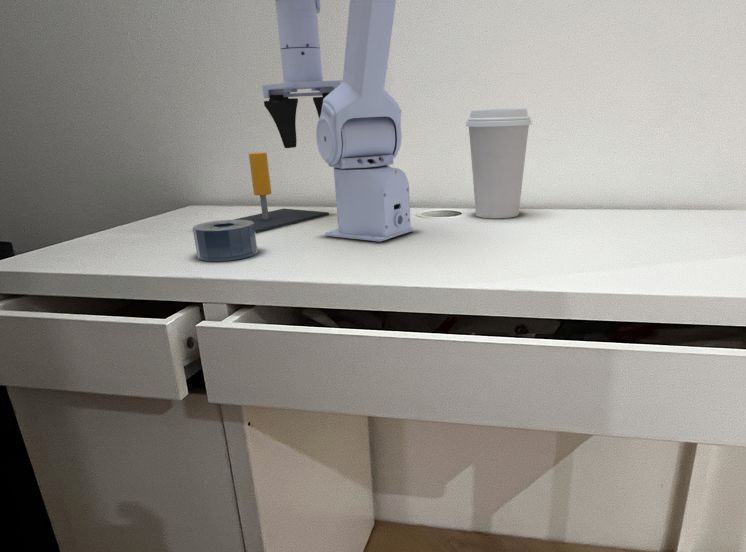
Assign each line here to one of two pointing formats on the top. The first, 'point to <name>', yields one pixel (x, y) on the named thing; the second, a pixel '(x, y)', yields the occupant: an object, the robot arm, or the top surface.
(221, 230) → the squat holed cylinder
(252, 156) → the screwdriver
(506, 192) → the coffee cup
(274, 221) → the mat
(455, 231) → the top surface
